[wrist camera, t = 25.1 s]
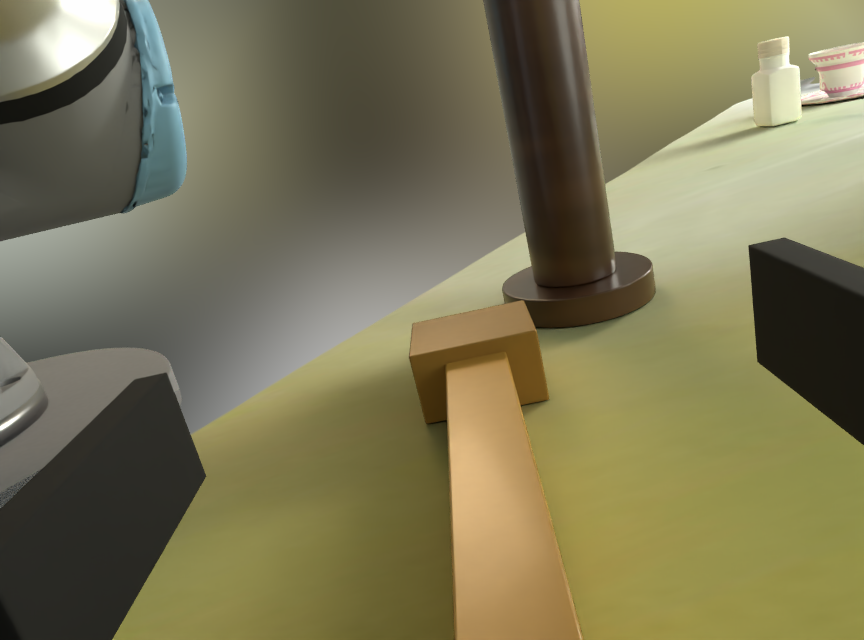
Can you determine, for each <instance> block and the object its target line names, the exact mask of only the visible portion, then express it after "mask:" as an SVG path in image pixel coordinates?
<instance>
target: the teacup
mask: <svg viewBox="0 0 864 640" xmlns="http://www.w3.org/2000/svg"><path fill="white" fill-rule="evenodd" d="M808 58H809V60H810V61H811V62H812V63H814V64H815V65H816V68H815V70H817V71H818V73H819V75H820V90H821V91H819V92H815V93H811V94H807V95H803V96H801V105H812V104H823V103H830V102H837V101H843V100H849V99H854V98H859V97H864V42H861V43H855V44H850V45H844V46H840V47H835V48H830V49H826V50H822V51H818V52H814V53H811V54H809V55H808Z"/></svg>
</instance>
